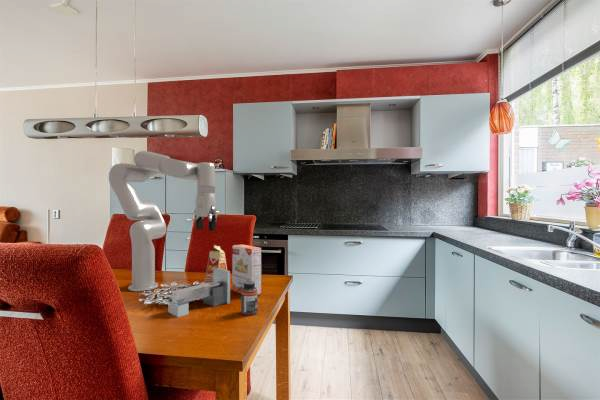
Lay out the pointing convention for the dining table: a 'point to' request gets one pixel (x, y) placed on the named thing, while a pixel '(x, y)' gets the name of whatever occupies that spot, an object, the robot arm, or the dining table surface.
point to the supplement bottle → (249, 298)
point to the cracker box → (246, 266)
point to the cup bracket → (219, 288)
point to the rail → (194, 292)
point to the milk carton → (215, 262)
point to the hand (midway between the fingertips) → (205, 229)
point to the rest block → (178, 308)
